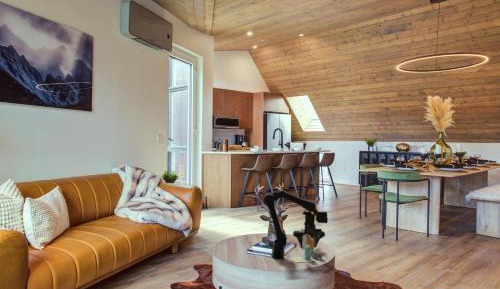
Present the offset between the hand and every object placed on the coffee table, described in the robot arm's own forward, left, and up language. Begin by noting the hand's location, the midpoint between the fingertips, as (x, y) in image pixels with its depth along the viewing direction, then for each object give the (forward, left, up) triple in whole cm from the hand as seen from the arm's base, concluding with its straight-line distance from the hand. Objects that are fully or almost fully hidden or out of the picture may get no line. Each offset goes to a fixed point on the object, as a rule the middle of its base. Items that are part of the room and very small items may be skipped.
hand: (308, 247), depth 217 cm
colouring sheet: (-3, 0, -7) cm, 8 cm away
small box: (+10, +21, -7) cm, 24 cm away
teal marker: (0, 0, -7) cm, 7 cm away
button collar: (+7, +3, -7) cm, 10 cm away
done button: (+7, +3, -6) cm, 9 cm away
